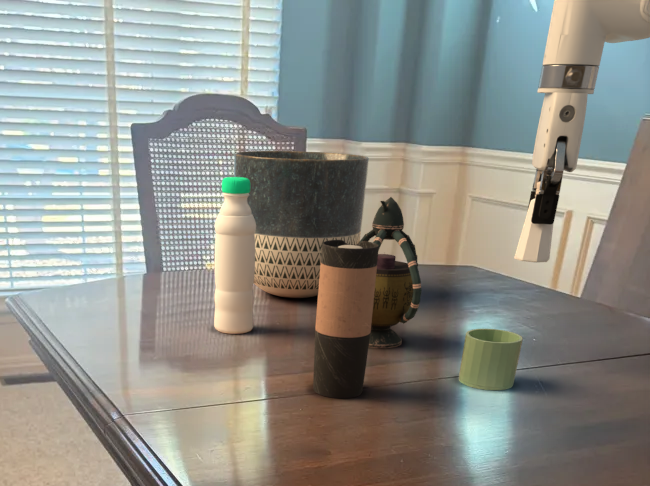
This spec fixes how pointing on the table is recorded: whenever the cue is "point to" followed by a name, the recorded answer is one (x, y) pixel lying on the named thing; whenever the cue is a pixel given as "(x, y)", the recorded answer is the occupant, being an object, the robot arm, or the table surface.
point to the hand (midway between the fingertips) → (539, 220)
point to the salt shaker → (534, 238)
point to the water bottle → (234, 259)
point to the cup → (490, 359)
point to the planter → (300, 213)
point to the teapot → (392, 278)
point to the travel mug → (344, 317)
